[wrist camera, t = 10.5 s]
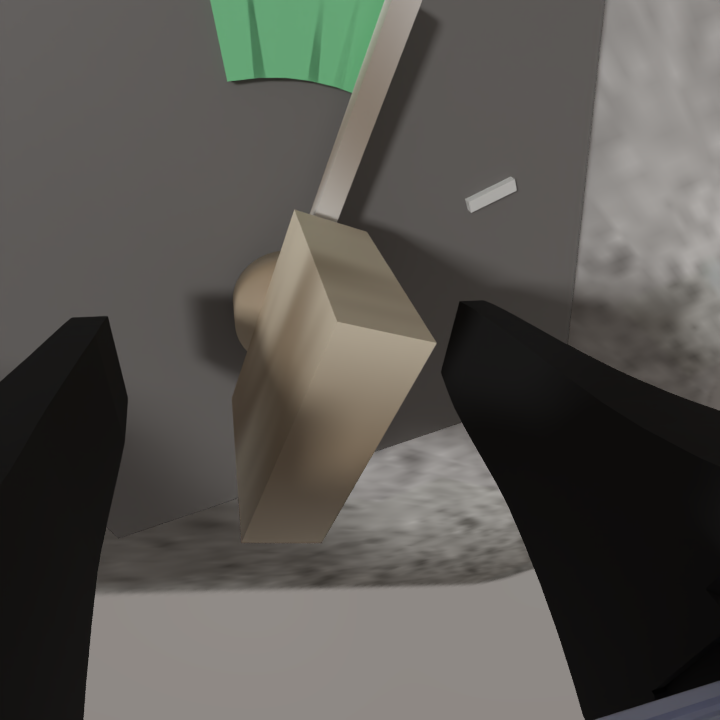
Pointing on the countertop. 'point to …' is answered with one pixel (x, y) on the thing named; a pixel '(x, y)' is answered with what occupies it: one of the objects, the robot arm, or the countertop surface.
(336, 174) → the peg
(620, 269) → the countertop surface
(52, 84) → the dial board
